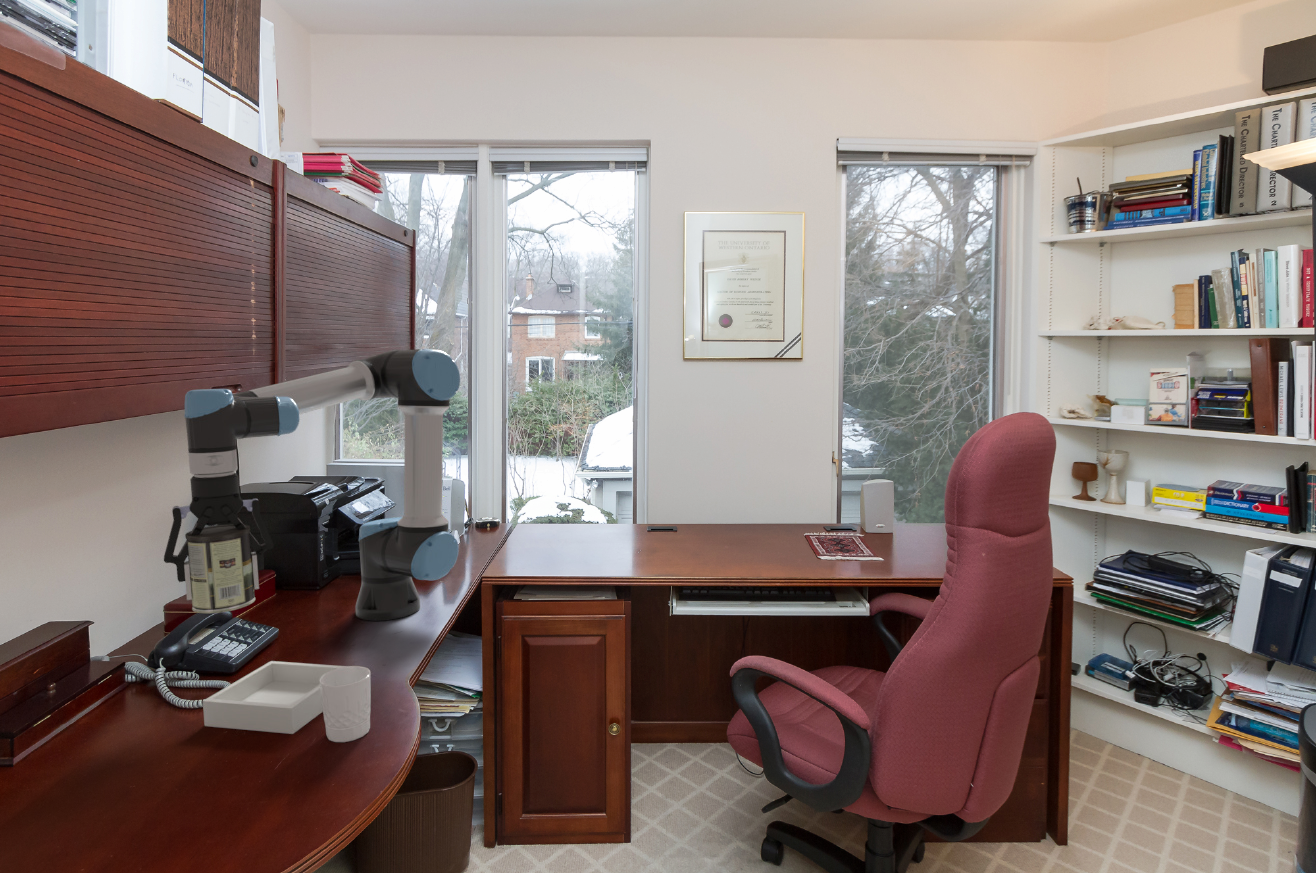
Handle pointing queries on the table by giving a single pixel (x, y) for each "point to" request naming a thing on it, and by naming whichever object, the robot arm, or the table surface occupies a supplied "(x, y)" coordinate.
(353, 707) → the white cup
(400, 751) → the table surface
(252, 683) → the tray
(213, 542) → the coffee can
